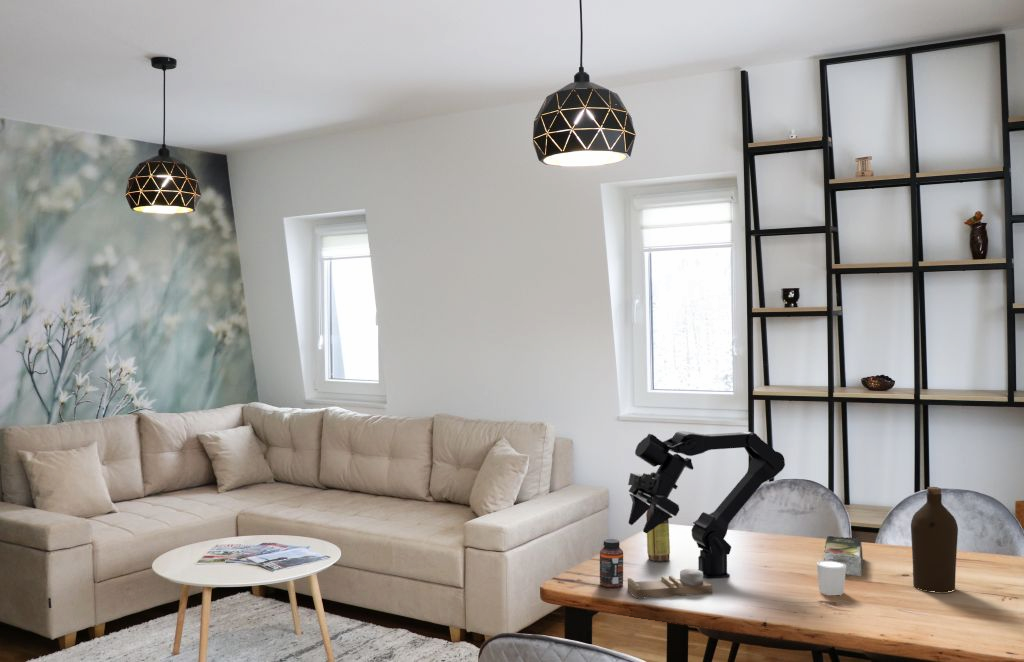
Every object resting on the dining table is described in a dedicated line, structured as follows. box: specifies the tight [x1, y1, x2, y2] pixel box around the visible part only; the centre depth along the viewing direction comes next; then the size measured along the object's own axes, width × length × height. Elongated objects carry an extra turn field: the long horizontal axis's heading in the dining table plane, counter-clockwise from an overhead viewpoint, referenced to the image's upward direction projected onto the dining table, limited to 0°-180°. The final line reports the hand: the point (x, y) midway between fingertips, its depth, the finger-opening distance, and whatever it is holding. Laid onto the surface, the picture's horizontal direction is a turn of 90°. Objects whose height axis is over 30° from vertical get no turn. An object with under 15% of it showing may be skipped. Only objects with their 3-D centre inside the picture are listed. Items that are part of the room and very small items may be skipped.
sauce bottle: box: [645, 503, 671, 562], centre depth 246 cm, size 6×6×20 cm
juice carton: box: [823, 535, 864, 577], centre depth 240 cm, size 20×10×6 cm, turn 159°
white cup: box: [816, 560, 846, 596], centre depth 216 cm, size 7×7×7 cm
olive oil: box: [910, 486, 959, 592], centre depth 219 cm, size 11×11×25 cm
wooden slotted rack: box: [627, 568, 713, 599], centre depth 217 cm, size 20×6×4 cm, turn 101°
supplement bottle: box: [599, 538, 624, 588], centre depth 223 cm, size 6×6×11 cm
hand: (637, 528), depth 226 cm, fingers open, 9 cm apart
